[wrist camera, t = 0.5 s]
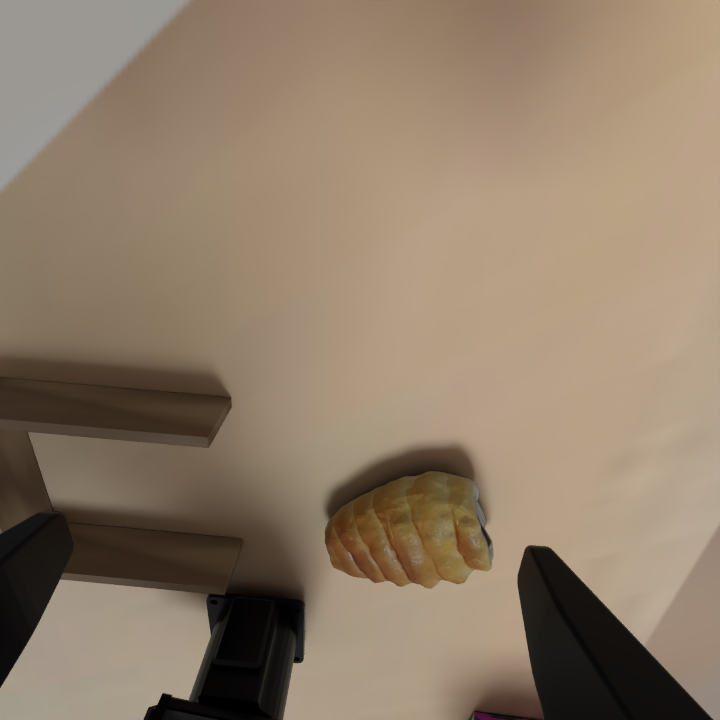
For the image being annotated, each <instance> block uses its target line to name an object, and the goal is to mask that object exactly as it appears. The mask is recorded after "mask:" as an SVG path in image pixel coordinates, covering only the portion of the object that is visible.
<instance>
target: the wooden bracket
mask: <svg viewBox="0 0 720 720" xmlns="http://www.w3.org/2000/svg"><path fill="white" fill-rule="evenodd" d="M231 407H232V405H231V398H230V397H219V396H207V395H196V394H184V393H173V392H161V391H150V390H138V389H127V388H115V387H104V386H92V385H81V384H69V383H58V382H46V381H35V380H23V379H12V378H0V534H1V533H3V532H4V531H6V530H8V529H10V528H11V527H13V526H15V525H17V524H18V523H20V522H22V521H24V520H25V519H27V518H29V517H31V516H33V515H34V514H36V513H38V512H42V511H50V512H53V509H52V506H51V503H50V500H49V497H48V494H47V491H46V488H45V485H44V482H43V479H42V476H41V473H40V470H39V467H38V464H37V461H36V458H35V455H34V452H33V449H32V446H31V443H30V440H29V437H28V434H27V432H36V433H48V434H59V435H70V436H81V437H92V438H104V439H115V440H126V441H137V442H148V443H160V444H171V445H182V446H193V447H204V448H209V446H210V445H211V443H212V441H213V439H214V438H215V436H216V434H217V432H218V430H219V429H220V427H221V425H222V423H223V422H224V420H225V418H226V416H227V414H228V413H229V411H230V409H231ZM68 525H69V528H70V531H71V534H72V537H73V540H74V550H73V553H72V556H71V558H70V560H69V562H68V564H67V566H66V568H65V570H64V572H63V574H62V576H61V578H60V579H63V580H73V581H83V582H94V583H104V584H115V585H125V586H135V587H146V588H156V589H167V590H177V591H187V592H198V593H208V594H219V595H225V593H226V590H227V587H228V584H229V581H230V578H231V576H232V573H233V570H234V567H235V564H236V561H237V559H238V556H239V553H240V550H241V547H242V539H238V538H227V537H217V536H206V535H195V534H185V533H174V532H163V531H153V530H142V529H131V528H120V527H110V526H99V525H88V524H78V523H68Z"/></svg>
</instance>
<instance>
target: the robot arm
mask: <svg viewBox="0 0 720 720" xmlns="http://www.w3.org/2000/svg"><path fill="white" fill-rule="evenodd" d="M73 550H74V540H73V537H72V534H71V531H70V528H69V525H68V522H67V519H66V516H65V515H64V514H63V513H61V512H50V511H42V512H38V513H36V514H34V515H33V516H31V517H29V518H27V519H25V520H24V521H22V522H20V523H18V524H17V525H15V526H13V527H11V528H10V529H8V530H6V531H4V532H3V533H1V534H0V688H1V686H2V684H3V683H4V681H5V679H6V678H7V676H8V674H9V673H10V671H11V669H12V668H13V666H14V664H15V663H16V661H17V660H18V658H19V656H20V655H21V653H22V651H23V650H24V648H25V646H26V645H27V643H28V641H29V639H30V638H31V636H32V634H33V632H34V630H35V629H36V627H37V625H38V623H39V621H40V619H41V617H42V615H43V613H44V611H45V609H46V607H47V605H48V603H49V601H50V599H51V597H52V595H53V592H54V590H55V588H56V586H57V584H58V582H59V580H60V578H61V576H62V574H63V572H64V570H65V568H66V566H67V564H68V562H69V560H70V558H71V556H72V553H73ZM518 591H519V597H520V603H521V609H522V615H523V621H524V627H525V633H526V639H527V645H528V651H529V657H530V662H531V668H532V673H533V677H534V681H535V685H536V689H537V693H538V696H539V700H540V704H541V708H542V711H543V715H544V719H545V720H713V719H712V718H711V717H710V716H709V715H708V714H707V713H706V712H705V711H704V709H703V708H701V706H700V705H699V704H698V703H697V702H696V701H695V700H694V699H693V698H692V697H691V696H690V695H689V694H688V693H687V692H686V690H685V689H684V688H683V687H682V686H681V685H680V684H679V683H678V682H677V681H676V680H675V679H674V678H673V677H672V676H671V675H670V674H669V672H668V671H667V670H666V669H665V668H664V667H663V666H662V665H661V664H660V663H659V662H658V661H657V660H656V659H655V658H654V657H653V656H652V655H651V654H650V653H649V651H648V650H647V649H646V648H645V647H644V646H643V645H642V644H641V643H640V642H639V641H638V640H637V639H636V638H635V637H634V635H633V634H632V633H631V632H630V631H629V630H628V629H627V628H626V627H625V626H624V625H623V624H622V623H621V622H620V621H619V620H618V619H617V618H616V616H615V615H614V614H613V613H612V612H611V611H610V610H609V609H608V608H607V607H606V606H605V605H604V604H603V603H602V602H601V601H600V600H599V598H598V597H597V596H596V595H595V594H594V593H593V592H592V591H591V590H590V589H589V588H588V587H587V586H586V585H585V584H584V583H583V582H582V581H581V579H580V578H579V577H578V576H577V575H576V574H575V573H574V572H573V571H572V570H571V569H570V568H569V567H568V566H567V565H566V564H565V563H564V562H563V560H562V559H561V558H560V557H559V556H558V555H557V554H556V553H555V552H554V551H553V550H552V549H551V548H549V547H546V546H534V545H529V546H527V547H526V549H525V551H524V555H523V558H522V562H521V565H520V569H519V572H518ZM206 602H207V609H208V617H209V624H210V631H211V638H210V641H209V644H208V646H207V649H206V652H205V655H204V658H203V661H202V664H201V666H200V669H199V672H198V675H197V678H196V681H195V684H194V686H193V689H192V692H191V695H190V698H189V700H184V699H179V698H175V697H172V695H170V694H165V693H163V694H162V696H161V698H160V700H159V703H158V705H155V706H152V707H149V708H148V710H147V713H146V715H145V717H144V720H283V717H284V711H285V705H286V700H287V694H288V689H289V683H290V678H291V672H292V666H293V663H301V662H302V661H303V659H304V639H305V603H304V602H303V601H301V600H297V599H286V598H276V597H265V596H255V595H245V594H234V593H225V595H219V594H209V595H208V598H207V601H206Z"/></svg>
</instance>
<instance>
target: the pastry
mask: <svg viewBox="0 0 720 720" xmlns="http://www.w3.org/2000/svg"><path fill="white" fill-rule="evenodd" d="M478 499H479V490H478V488H477V484H476V483H475V482H473V481H472V480H470V479H468V478H465V477H460V476H456V475H452V474H449V473H445V472H437V471H427V472H426V473H424V474H421V475H417V476H404V477H402V478H400V479H397V480H395V481H391V482H389V483H388V484H386V485H384V486H381V487H378V488H374V490H372V491H370V492H368V493H366V494H365V493H364V494H363V495H361V496H359V497H357V498H355V499H353V500H351V501H350V502H349V503H347V504H345V505H344V506H342V507H341V508H340V509H339V510H338V511H337V513H336V514H335V515H334V516H332V517H331V518H330V520H329V522H328V524H327V527H326V529H325V544H326V547H327V550H328V553H329V555H330V561H331V564H332V565H333V567H334V568H336V569H338V570H341V571H343V572H345V573H347V574H348V575H351V576H353V577H360V578H368V579H370V580H371V581H373V582H374V583H378V582H384V581H391V582H393V583H395V584H396V585H397V586H400V587H401V586H405V585H407V584H409V583H416V584H421V585H422V586H424V587H425V588H429V589H431V588H433V587H434V586H435V585H436V584H437V583H438V582H439V581H440V580H445V581H450V582H453V583H456V584H461V583H464V582H465V581H466V579H467V578H468V576H469V575H470V573H471V572H472V571H473V570H482V571H489V570H490V569H491V567H492V562H491V561H492V559H493V545H492V540H491V539H490V537H489V535H488V533H487V532H486V530H485V524H486V518H485V515H484V512H483V511H482V510H481V507H480V505H479V503H478V502H477V500H478Z"/></svg>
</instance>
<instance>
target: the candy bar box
mask: <svg viewBox="0 0 720 720" xmlns="http://www.w3.org/2000/svg"><path fill="white" fill-rule="evenodd" d="M470 720H530V719H522V718H515V717H507V716H500V715H493V714H485V713H478V712H474V713H473V714H472V716H471V719H470Z"/></svg>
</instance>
